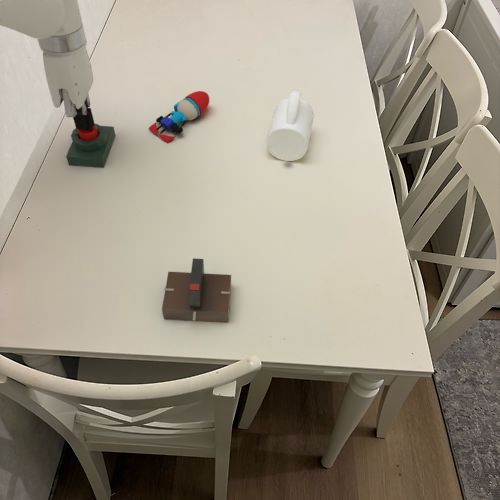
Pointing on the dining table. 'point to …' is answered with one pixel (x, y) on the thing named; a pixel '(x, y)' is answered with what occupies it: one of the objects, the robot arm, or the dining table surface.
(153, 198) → the dining table surface
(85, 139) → the button
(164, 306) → the knob base block
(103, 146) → the button box
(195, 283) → the bar knob
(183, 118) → the toy figure
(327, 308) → the dining table surface
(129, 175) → the dining table surface
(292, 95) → the mug
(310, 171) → the dining table surface
